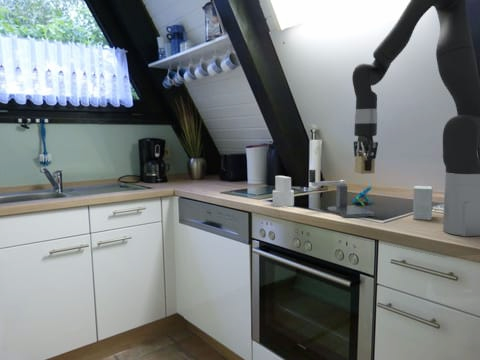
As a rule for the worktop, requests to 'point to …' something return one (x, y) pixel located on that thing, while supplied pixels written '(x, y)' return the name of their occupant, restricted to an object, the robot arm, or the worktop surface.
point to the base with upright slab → (283, 192)
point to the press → (346, 210)
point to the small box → (422, 202)
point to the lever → (323, 183)
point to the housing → (362, 165)
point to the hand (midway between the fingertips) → (364, 169)
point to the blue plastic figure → (362, 194)
